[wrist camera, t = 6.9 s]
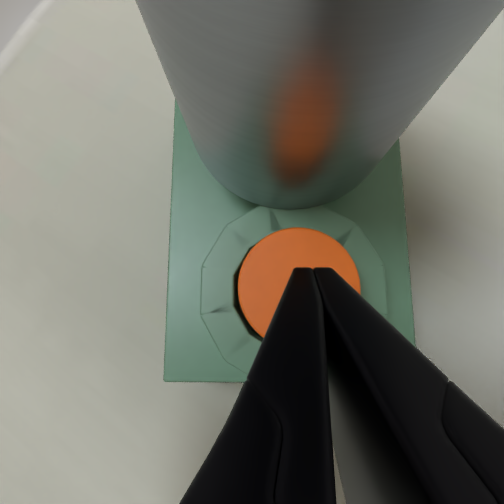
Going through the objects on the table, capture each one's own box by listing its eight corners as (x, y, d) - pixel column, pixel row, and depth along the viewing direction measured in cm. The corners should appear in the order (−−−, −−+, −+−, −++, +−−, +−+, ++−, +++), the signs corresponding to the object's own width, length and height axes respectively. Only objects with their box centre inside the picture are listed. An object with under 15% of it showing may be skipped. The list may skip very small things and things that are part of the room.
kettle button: (344, 342, 12) (365, 350, 9) (241, 341, 12) (236, 350, 9) (339, 241, 12) (357, 226, 10) (242, 242, 12) (238, 227, 10)
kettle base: (379, 364, 17) (448, 397, 11) (187, 363, 18) (145, 395, 11) (363, 117, 20) (413, 24, 13) (194, 119, 20) (163, 29, 13)
